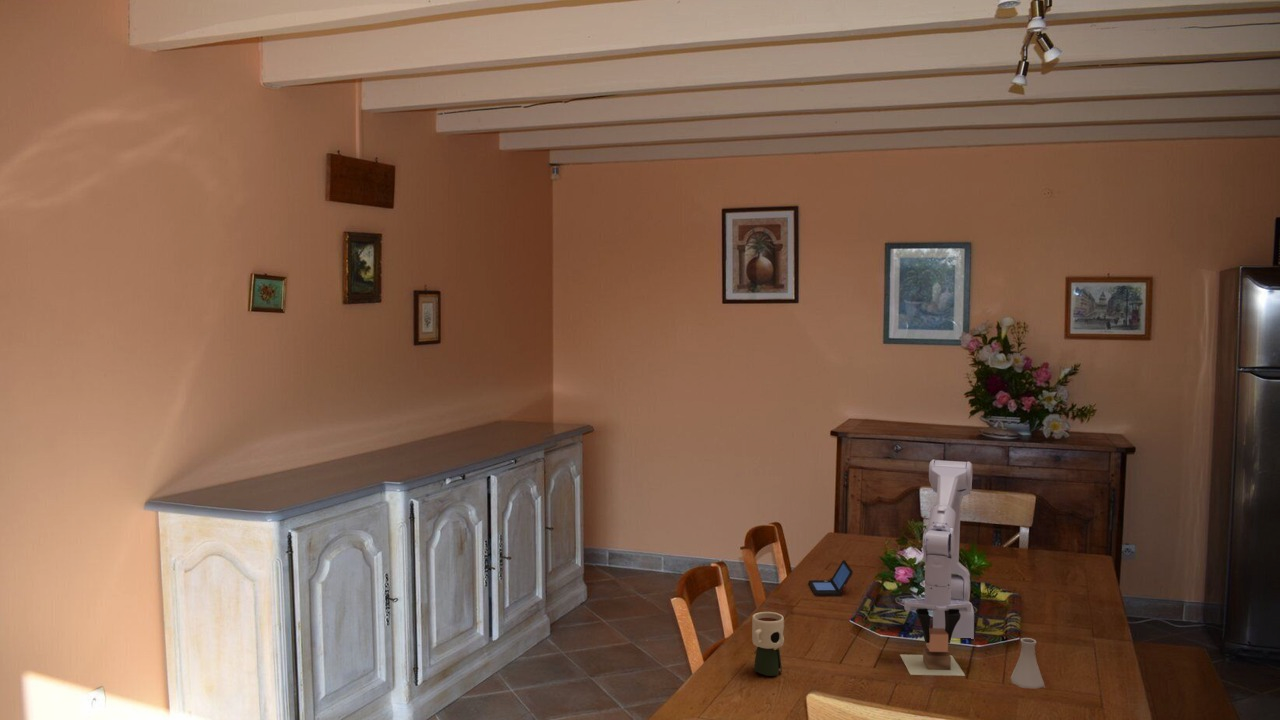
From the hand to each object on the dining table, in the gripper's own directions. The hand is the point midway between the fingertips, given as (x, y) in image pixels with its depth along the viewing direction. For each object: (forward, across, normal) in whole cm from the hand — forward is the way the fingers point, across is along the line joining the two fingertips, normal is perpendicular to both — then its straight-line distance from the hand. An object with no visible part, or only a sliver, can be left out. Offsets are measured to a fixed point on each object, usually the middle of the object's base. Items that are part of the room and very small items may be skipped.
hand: (937, 641), depth 223 cm
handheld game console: (+7, -17, +58) cm, 60 cm away
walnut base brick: (+6, 0, 0) cm, 6 cm away
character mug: (+6, -38, -4) cm, 39 cm away
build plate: (+6, -1, 0) cm, 6 cm away
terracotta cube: (+2, 0, 0) cm, 2 cm away
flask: (+6, +18, -8) cm, 21 cm away
